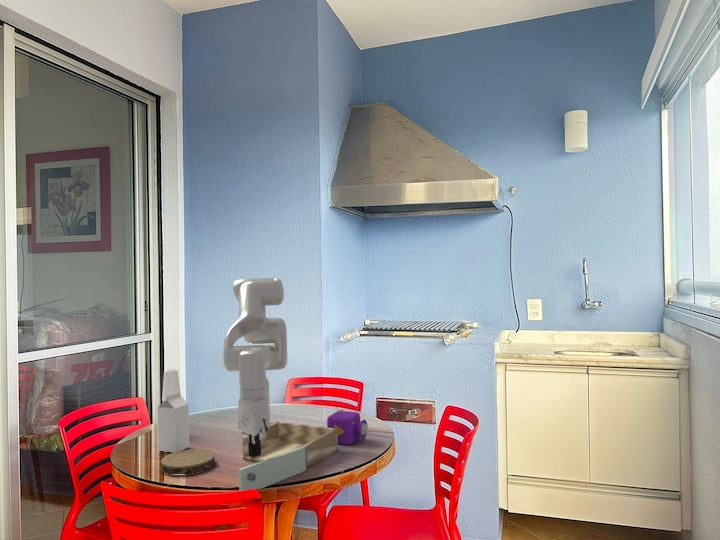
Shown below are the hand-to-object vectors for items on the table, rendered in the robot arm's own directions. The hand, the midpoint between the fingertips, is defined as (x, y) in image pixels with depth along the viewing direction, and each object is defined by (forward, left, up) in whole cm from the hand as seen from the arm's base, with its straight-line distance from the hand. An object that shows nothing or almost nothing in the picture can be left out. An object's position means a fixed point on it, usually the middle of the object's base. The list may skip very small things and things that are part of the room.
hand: (254, 455), depth 160 cm
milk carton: (-41, +9, -6) cm, 43 cm away
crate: (-1, +20, -6) cm, 21 cm away
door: (+8, -1, -6) cm, 11 cm away
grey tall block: (-55, +22, -6) cm, 60 cm away
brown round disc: (-25, -1, -7) cm, 26 cm away
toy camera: (+10, +39, -7) cm, 41 cm away
